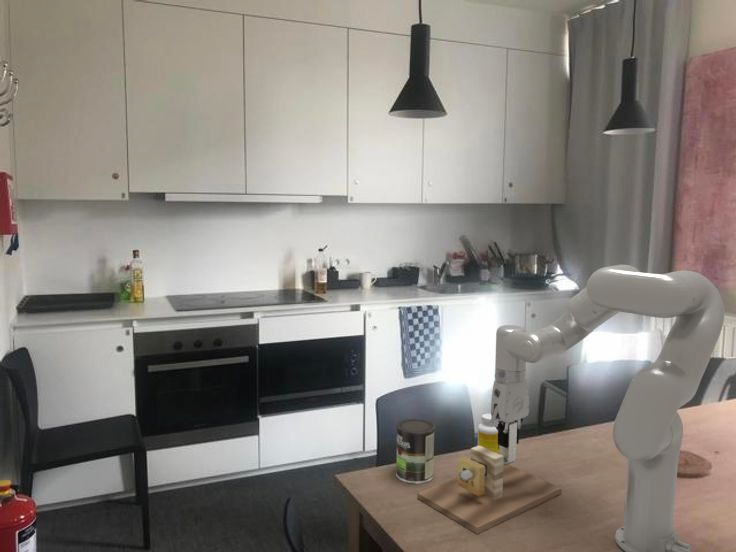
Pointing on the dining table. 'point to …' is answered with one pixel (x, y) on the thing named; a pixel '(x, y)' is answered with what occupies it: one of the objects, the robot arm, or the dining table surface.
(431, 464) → the coffee can
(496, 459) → the bearing stand
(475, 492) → the frame
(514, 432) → the crank handle
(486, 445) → the supplement bottle
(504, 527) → the dining table surface
